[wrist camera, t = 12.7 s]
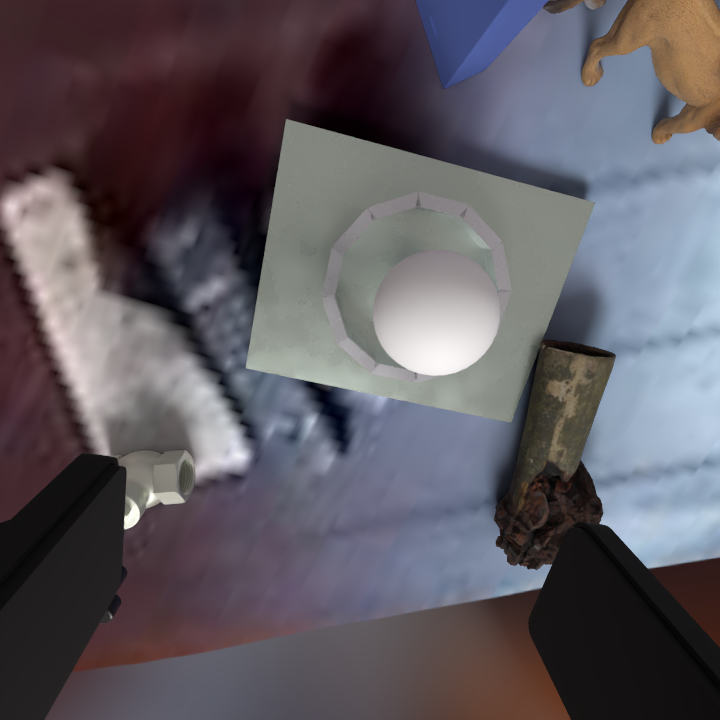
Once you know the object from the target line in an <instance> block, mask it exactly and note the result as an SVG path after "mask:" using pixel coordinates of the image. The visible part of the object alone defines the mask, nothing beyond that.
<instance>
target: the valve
mask: <svg viewBox="0 0 720 720" xmlns="http://www.w3.org/2000/svg"><path fill="white" fill-rule="evenodd" d="M110 457H115V458H117V460H118V466H124V467H126V470H127V478H126V498H125V518H124V529H128V528H131V527H132V526H134V525H135V524H136V523H137V522H138V521H139V519H140V518H141V516H142V515H143V513H144V512H145V509H146V508H149V507H152V506H154V505H156V504H158V503H160V502H162V503H163V504H175V503H185V502H186V501H187V500H188V498H189V497H190V495H191V494H192V491H193V489H194V484H195V465H194V461H193V458H192V456H191V455H190V454H189V453H188V452H187V451H186V450H176V451H165V452H164V453H163V454H160V453H158V452H154V451H147V450H145V451H137V452H133V453H130V454H128V455H126V456H124V457H122V456H121V455H114V456H110ZM126 576H127V570H126V568H125V567H123V566H122V575H121V581H120V584H119V587H120V586H121V584H122V583H123V581H124V579H125V578H126ZM119 587H118V589H119ZM120 605H121V599H120V597H119V596H118V595H115V596H114V598H113V600H112V602H111V604H110V605H109V607H108V609H107V611H106V612H105V614H104V616H103V618H102V619H101V621H100V623H108V622H110V621H111V620H112V619H113V617H114V615H115V613H116V612H117V610H118V608H119V607H120Z"/></svg>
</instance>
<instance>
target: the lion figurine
mask: <svg viewBox="0 0 720 720" xmlns="http://www.w3.org/2000/svg"><path fill="white" fill-rule="evenodd" d="M583 1H584V2H585V4H586V6H587V7H588V8H589V9H591V10H595V9H597V8H599V7H601V6H603V5H604V4H605V1H606V0H556V1H548V2H547V3H546V4H545V5H544V6H543V8H544V9H545V10H547V11H548V12H549V13H552V14H555V13H560V12H563V11H565V10H567V9H570V8H573V7H574V6H576V5H578V4H579V3H581V2H583ZM645 45H648V46H649V47H650V49H651V54H652V61H653V65H654V69H655V73H656V76H657V77H658V79H659V80H660V82H661V83H662V85H663V86H664V87H665V88H666V89H667V90H668V91H669V92H671V93H672V94H673V95H675V96H676V97H677V98H678V99H680V100H682V101H684V102H686V105H685V106H684V108H683V109H682V110H681V112H680V113H679V114H678V115H676V116H674V117H670V118H664V119H662V120H660V122H659V123H658V124H657V125H656V126H655V127H654V129H653V133H652V140H653V142H654V143H655V144H662V143H664V142H666V141H668V140H669V139H670V138H671V136H672V134H674V133H690V132H693V131H696V130H699V129H701V128H705V129H706V131H707V132H708V133H709V134H713V137H715V138H716V139H717V140H718V141H720V10H719V8H718V7H717V5H716V3H715V1H714V0H628V1H627V3H626V4H625V6H624V7H623V9H622V10H621V12H620V13H619V15H618V17H617V18H616V20H615V22H614V24H613V26H612V27H611V29H610V30H609V32H608V33H607V34H606V35H605V36H603V37H600V38H597V39H595V40H594V41H593V42H592V43H591V46H590V49H589V53H588V56H587V59H586V61H585V63H584V66H583V68H582V75H581V76H582V81H583V83H584V85H585V86H593V85H595V84H596V83H597V82H598V81H599V80H600V78H601V77H602V76H603V73H604V70H603V68H602V66H601V65H600V63H599V61H600V60H601V59H602V58H603V57H605V56H613V55H625V54H628V53H631V52H632V51H634V50H636V49H638V48H640V47H642V46H645Z"/></svg>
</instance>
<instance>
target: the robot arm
mask: <svg viewBox="0 0 720 720" xmlns="http://www.w3.org/2000/svg"><path fill="white" fill-rule="evenodd" d="M126 478H127V470H126V467H124V466H118V460H117V458H115V457H110V456H103V455H96V454H89V453H83V454H81V455H79V456H78V457H77V458H76V459H75V460H74V461H73V462H72V463H70V464H69V465H68V466H67V467H66V468H65V469H64V470H63V471H62V472H61V473H60V474H59V475H58V476H57V477H56V478H55V479H53V480H52V481H51V482H50V483H49V484H48V485H47V486H46V487H45V488H44V489H43V490H42V491H41V492H40V493H39V494H38V495H36V496H35V497H34V498H33V499H32V500H31V501H30V502H29V503H28V504H27V505H26V506H25V507H24V508H23V509H22V510H21V511H19V512H18V513H17V514H16V515H15V516H14V517H13V518H12V519H11V520H8V521H5V522H2V523H0V720H44V719H45V718H46V716H47V714H48V712H49V711H50V709H51V707H52V705H53V704H54V702H55V700H56V698H57V696H58V695H59V693H60V691H61V690H62V688H63V686H64V684H65V682H66V681H67V679H68V677H69V676H70V674H71V672H72V670H73V669H74V667H75V665H76V663H77V662H78V660H79V658H80V656H81V655H82V653H83V651H84V649H85V647H86V646H87V644H88V642H89V640H90V639H91V637H92V635H93V633H94V632H95V630H96V628H97V626H98V625H99V623H100V621H101V619H102V618H103V616H104V614H105V612H106V611H107V609H108V607H109V605H110V604H111V602H112V600H113V598H114V596H115V595H116V592H117V590H118V587H119V584H120V581H121V575H122V558H123V538H124V518H125V498H126ZM528 624H529V632H530V635H531V638H532V640H533V642H534V644H535V646H536V648H537V650H538V652H539V654H540V656H541V659H542V661H543V663H544V665H545V667H546V669H547V671H548V673H549V675H550V677H551V679H552V681H553V683H554V685H555V687H556V689H557V692H558V693H559V695H560V698H561V700H562V702H563V704H564V706H565V708H566V710H567V712H568V714H569V716H570V718H571V720H720V647H718V645H717V644H716V643H715V642H714V641H713V640H712V639H711V638H710V637H709V635H708V634H707V633H706V632H705V631H704V630H703V629H702V628H701V627H700V626H699V624H698V623H697V622H696V621H695V620H694V619H693V618H692V617H691V616H690V615H689V614H688V612H687V611H686V610H685V609H684V608H683V607H682V606H681V605H680V604H679V603H678V602H677V600H676V599H675V598H674V597H673V596H672V595H671V594H670V593H669V592H668V591H667V590H666V588H665V587H664V586H663V585H662V584H661V583H660V582H659V581H658V580H657V579H656V577H655V576H654V575H653V574H652V573H651V572H650V571H649V570H648V569H647V568H646V566H645V565H644V564H643V563H642V562H641V561H640V560H639V559H638V558H637V557H636V556H635V554H634V553H633V552H632V551H631V550H630V549H629V548H628V547H627V546H626V545H625V543H624V542H623V541H622V540H621V539H620V538H619V537H618V536H617V535H616V534H615V533H614V531H613V530H612V529H610V528H609V527H608V526H606V525H602V524H594V523H587V522H578V523H576V524H575V525H574V526H573V528H570V529H568V531H567V532H566V534H565V537H564V539H563V541H562V543H561V546H560V548H559V550H558V553H557V555H556V557H555V559H554V562H553V564H552V566H551V569H550V571H549V573H548V575H547V578H546V580H545V582H544V585H543V587H542V589H541V592H540V594H539V596H538V598H537V601H536V603H535V605H534V608H533V610H532V612H531V615H530V617H529V623H528Z"/></svg>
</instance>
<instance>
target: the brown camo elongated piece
mask: <svg viewBox="0 0 720 720" xmlns="http://www.w3.org/2000/svg"><path fill="white" fill-rule="evenodd" d="M615 357H616V355H615V354H613V353H612V352H609V351H606V350H602V349H599V348H595V347H590V346H586V345H582V344H576V343H571V342H560V341H555V340H546V341H542V343H541V346H540V350H539V355H538V361H537V366H536V371H535V376H534V381H533V386H532V392H531V397H530V402H529V408H528V414H527V419H526V423H525V427H524V431H523V435H522V439H521V443H520V448H519V453H518V457H517V462H516V466H515V470H514V474H513V478H512V482H511V485H510V488H509V490H508V492H507V493H506V494H505V496H504V497H503V499H502V500H501V501H500V502H499V503H498V504H497V506H496V510H497V511H496V514H495V517H494V521H495V522H496V524H497V525H498V527H499V528H500V536H498V538H497V540H496V546H497V547H500V548H501V549H504V553H505V554H506V555H507V562H508V563H509V564H510V565H514V566H515V565H517V564H518V563H519V565H520V566H521V565H523V566H527V569H531V568H532V569H535V570H538V569H539V568H540V567H541V566H542V565H543V564H550V565H551V564H553V562H554V559H555V557H556V555H557V553H558V550H559V548H560V546H561V543H562V541H563V539H564V537H565V534H566V532H567V531H568V529H570V528H573V526H574V525H575V524H576V523H578V522H587V523H594V524H599V523H600V521H601V517H602V515H603V509H602V503H601V500H600V498H599V497H598V496H597V494H596V490H595V486H594V484H593V480H592V478H591V476H590V474H589V473H588V471H587V470H586V468H585V466H584V464H583V463H582V461H581V460H580V459H581V456H582V453H583V449H584V446H585V443H586V441H587V438H588V435H589V433H590V430H591V427H592V424H593V421H594V418H595V415H596V412H597V409H598V406H599V404H600V401H601V398H602V396H603V393H604V390H605V387H606V385H607V382H608V379H609V377H610V374H611V371H612V369H613V365H614V361H615Z"/></svg>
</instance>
